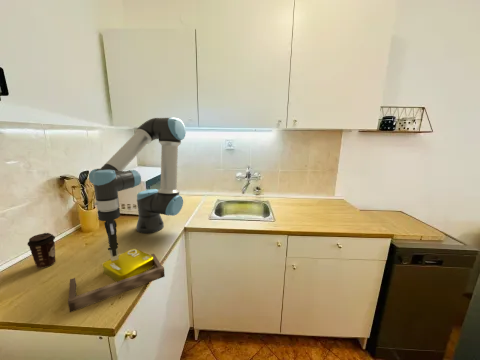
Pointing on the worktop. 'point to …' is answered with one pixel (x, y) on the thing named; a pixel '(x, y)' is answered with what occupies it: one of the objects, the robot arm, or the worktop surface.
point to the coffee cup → (43, 249)
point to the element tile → (128, 265)
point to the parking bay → (113, 287)
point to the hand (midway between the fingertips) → (115, 261)
